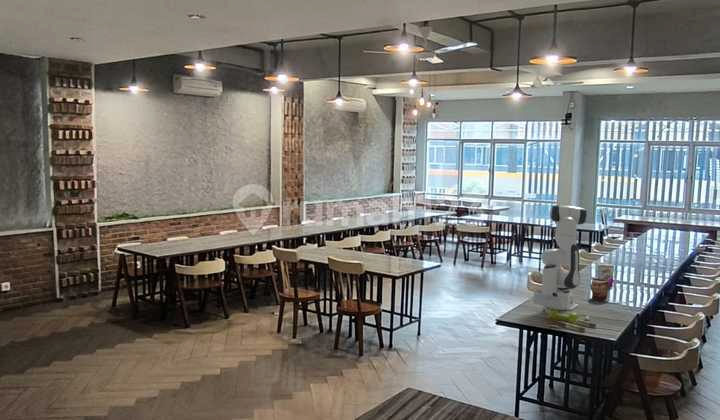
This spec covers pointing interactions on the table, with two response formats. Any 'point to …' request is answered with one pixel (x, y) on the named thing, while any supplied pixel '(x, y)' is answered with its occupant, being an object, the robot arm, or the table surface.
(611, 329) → the table surface
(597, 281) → the decorative planter
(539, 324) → the table surface
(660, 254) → the table surface
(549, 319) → the beam slot
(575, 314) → the dumbbell
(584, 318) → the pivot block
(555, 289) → the robot arm
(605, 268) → the candy bar box
